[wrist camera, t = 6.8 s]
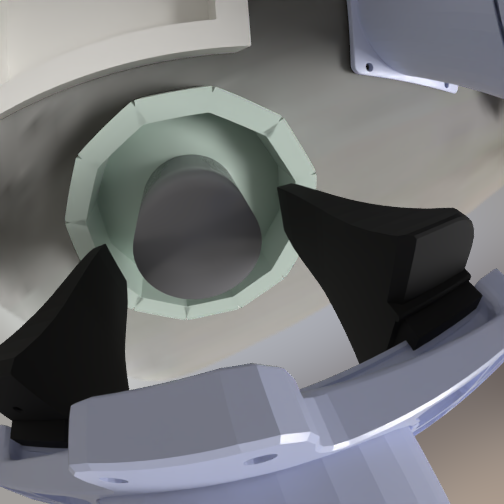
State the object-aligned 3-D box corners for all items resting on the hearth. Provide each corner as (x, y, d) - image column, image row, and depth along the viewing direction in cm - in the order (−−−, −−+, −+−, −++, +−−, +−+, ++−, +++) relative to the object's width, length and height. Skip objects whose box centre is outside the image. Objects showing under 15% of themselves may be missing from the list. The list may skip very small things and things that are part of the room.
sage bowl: (288, 79, 12) (316, 81, 9) (290, 261, 18) (309, 291, 16) (62, 120, 10) (37, 132, 8) (121, 296, 16) (117, 332, 14)
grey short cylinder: (222, 140, 12) (244, 169, 9) (246, 223, 15) (272, 276, 11) (127, 175, 12) (110, 219, 8) (164, 252, 15) (165, 312, 11)
